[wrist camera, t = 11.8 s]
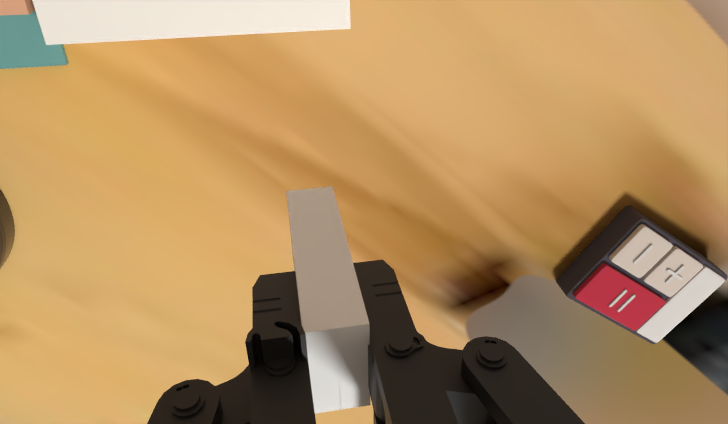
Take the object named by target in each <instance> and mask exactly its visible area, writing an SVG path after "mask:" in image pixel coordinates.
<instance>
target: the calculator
mask: <svg viewBox="0 0 728 424" xmlns="http://www.w3.org/2000/svg"><path fill="white" fill-rule="evenodd" d="M726 279H727V275H726V274H725V273H724V272H723V271H722V270H720V269H719V268H718V267H717V266H716V265H714V264H713V263H712V262H711V261H710V260H708V259H707V258H706V257H704V256H703V255H701V254H700V253H699V252H697V251H696V250H694V249H693V248H691V247H690V246H688V245H686V244H685V243H683V242H682V241H680V240H679V239H678V238H676V237H675V236H673V235H672V234H670V233H669V232H667V231H666V230H664V229H663V228H662V227H660V226H659V225H657V224H656V223H654V222H653V221H651V220H650V219H649V218H647V217H646V216H644V215H643V214H641V213H640V212H638V211H637V210H635V209H634V208H632V207H631V206H627V207H625V208H624V209H623V210H622V211H621V212H620V213H619V214H618V215H617V217H616V218H615V219H614V220H613V221H612V222H611V223H610V224H609V225H608V226H607V227H606V228H605V229H604V230H603V231H602V232H601V233H600V234H599V235H598V237H597V238H596V239H595V240H594V241H593V242H592V243H591V244H590V245H589V246H588V247H587V248H586V249H585V250H584V251H583V252H582V253H581V254H580V256H579V257H578V258H577V259H576V260H575V261H574V262H573V263H572V264H571V265H570V266H569V267H568V268H567V269H566V270H565V271H564V272H563V273H562V274H561V276H560V277H559V278H558V279H557V281H556V282H557V284H558V285H559V286H560V287H561V289H562V290H563V292H564V293H565V295H566V296H567V297H568V298H570V299H572V300H574V301H575V302H577V303H579V304H581V305H583V306H585V307H586V308H588V309H590V310H592V311H594V312H596V313H597V314H599V315H601V316H603V317H604V318H606V319H608V320H610V321H612V322H613V323H615V324H617V325H619V326H621V327H622V328H624V329H626V330H628V331H630V332H632V333H633V334H635V335H637V336H639V337H641V338H642V339H644V340H646V341H648V342H650V343H652V344H655V343H657V342H658V341H660V340H661V339H662V338H663V337H664V336H665V335H666V334H667V333H669V332H670V331H671V330H672V329H673V328H674V327H675V326H676V325H677V324H678V323H680V322H681V321H682V320H683V319H684V318H685V317H686V316H687V315H688V314H689V313H691V312H692V311H693V310H694V309H695V308H696V307H697V306H698V305H699V304H701V303H702V302H703V301H704V300H705V299H706V298H707V297H708V296H709V295H710V294H712V293H713V292H714V291H715V290H716V289H717V288H718V287H719V286H720V285H721V284H722V283H723V282H724V281H725V280H726Z"/></svg>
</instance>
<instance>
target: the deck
mask: <svg viewBox="0 0 728 424" xmlns="http://www.w3.org/2000/svg"><path fill="white" fill-rule="evenodd" d="M32 1H33V4H34V8H35V11H36V14H37V17H38V20H39V24H40V27H41V30H42V33H43V36H44V39H45V43H46V45H56V44H75V43H93V42H112V41H130V40H149V39H167V38H186V37H205V36H223V35H242V34H260V33H279V32H297V31H316V30H334V29H350V0H32Z"/></svg>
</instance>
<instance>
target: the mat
mask: <svg viewBox="0 0 728 424" xmlns="http://www.w3.org/2000/svg"><path fill="white" fill-rule="evenodd" d="M67 64H68V60H67V56H66V53H65V50H64V46H63V44H56V45H46V43H45V39H44V36H43V33H42V30H41V27H40V24H39V20H38V17H37V14H36V11H34V12H32V13H31V14H26V15H0V69H5V68H22V67H39V66H56V65H67Z"/></svg>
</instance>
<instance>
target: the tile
mask: <svg viewBox="0 0 728 424" xmlns="http://www.w3.org/2000/svg"><path fill="white" fill-rule="evenodd" d="M34 11H35V8H34V4H33V1H32V0H0V15H26V14H31V13H32V12H34Z"/></svg>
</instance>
